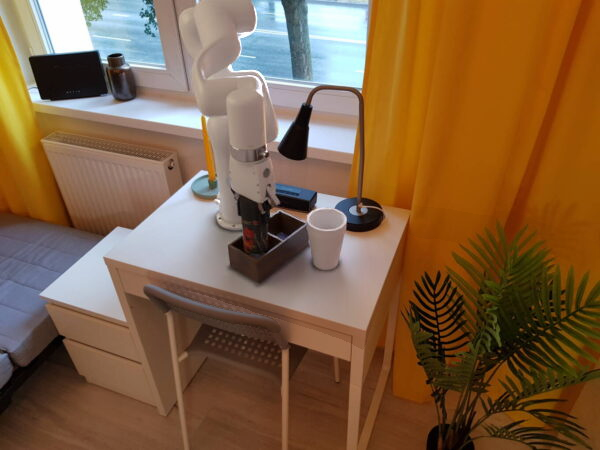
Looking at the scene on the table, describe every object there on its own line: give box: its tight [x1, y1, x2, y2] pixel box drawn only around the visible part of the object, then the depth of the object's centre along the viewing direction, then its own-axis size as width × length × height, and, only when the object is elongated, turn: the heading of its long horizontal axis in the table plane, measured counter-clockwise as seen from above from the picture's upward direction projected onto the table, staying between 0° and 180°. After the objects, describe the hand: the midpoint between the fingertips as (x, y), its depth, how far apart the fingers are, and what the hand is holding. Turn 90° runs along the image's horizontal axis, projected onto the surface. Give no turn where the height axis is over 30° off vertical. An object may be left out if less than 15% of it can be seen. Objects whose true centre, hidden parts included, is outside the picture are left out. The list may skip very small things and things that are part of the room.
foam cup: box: [306, 207, 348, 271], centre depth 118 cm, size 10×9×13 cm
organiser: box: [227, 209, 310, 285], centre depth 122 cm, size 10×19×7 cm, turn 141°
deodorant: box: [239, 194, 268, 256], centre depth 113 cm, size 6×6×15 cm
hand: (254, 218), depth 113 cm, fingers closed on deodorant, 6 cm apart
